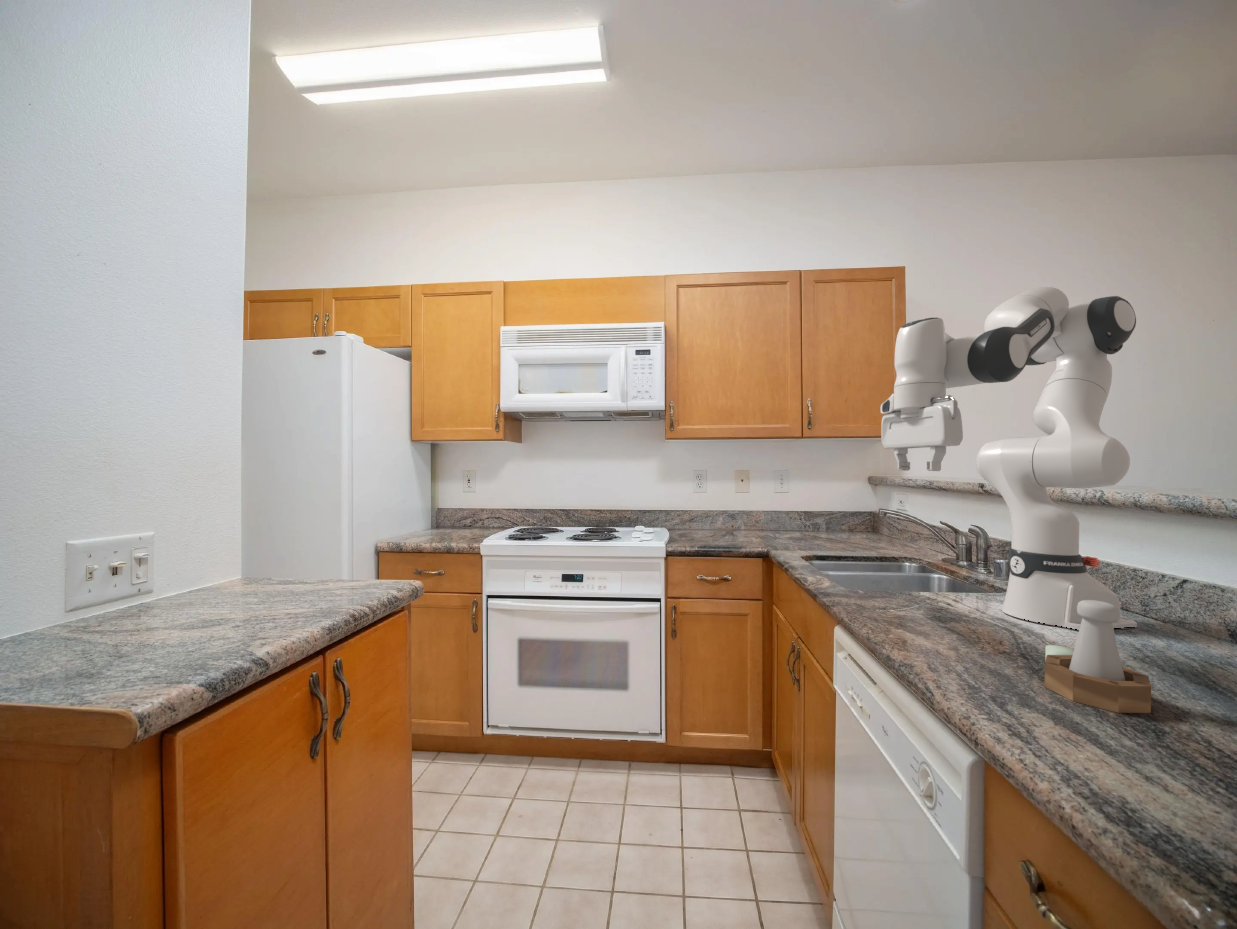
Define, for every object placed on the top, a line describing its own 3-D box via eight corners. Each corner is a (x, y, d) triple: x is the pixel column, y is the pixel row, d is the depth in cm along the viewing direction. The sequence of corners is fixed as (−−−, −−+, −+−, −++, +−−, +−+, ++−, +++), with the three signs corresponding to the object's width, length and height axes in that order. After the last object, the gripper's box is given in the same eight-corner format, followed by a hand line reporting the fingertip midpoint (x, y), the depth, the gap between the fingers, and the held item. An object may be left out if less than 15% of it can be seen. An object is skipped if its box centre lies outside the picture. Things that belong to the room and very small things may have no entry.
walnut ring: (1094, 678, 75) (1094, 655, 75) (1173, 713, 64) (1174, 686, 64) (1026, 677, 75) (1026, 654, 75) (1095, 712, 64) (1095, 685, 64)
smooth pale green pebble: (1064, 663, 81) (1064, 645, 81) (1090, 674, 77) (1090, 655, 77) (1037, 663, 81) (1038, 644, 81) (1062, 674, 76) (1063, 655, 76)
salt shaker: (1137, 706, 66) (1139, 609, 66) (1087, 701, 67) (1089, 606, 67) (1104, 686, 72) (1106, 598, 72) (1058, 682, 73) (1060, 595, 73)
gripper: (973, 393, 87) (972, 471, 87) (904, 407, 108) (903, 470, 107) (938, 393, 87) (937, 471, 87) (875, 406, 107) (874, 470, 107)
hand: (918, 470), depth 97 cm, fingers open, 8 cm apart
